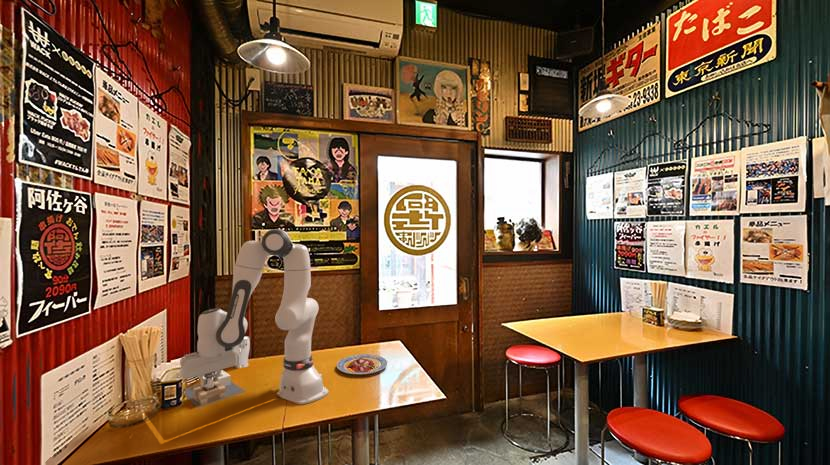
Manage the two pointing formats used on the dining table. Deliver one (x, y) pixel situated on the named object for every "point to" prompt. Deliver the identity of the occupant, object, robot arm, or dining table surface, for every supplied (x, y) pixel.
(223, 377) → the socket block
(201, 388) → the mount block
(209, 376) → the steel pin
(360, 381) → the dining table surface
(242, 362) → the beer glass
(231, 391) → the rubber mat
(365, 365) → the ceramic plate
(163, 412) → the dining table surface
